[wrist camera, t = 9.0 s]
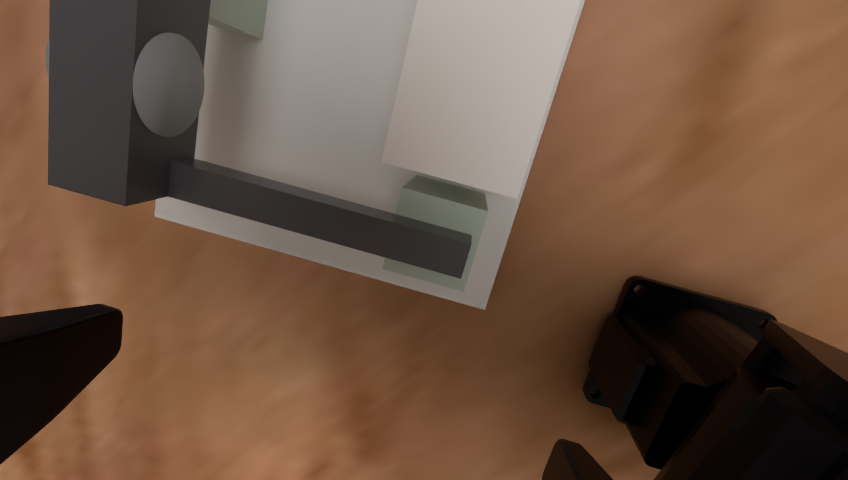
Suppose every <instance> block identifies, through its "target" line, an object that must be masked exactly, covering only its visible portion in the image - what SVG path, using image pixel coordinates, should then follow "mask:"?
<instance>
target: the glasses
mask: <svg viewBox="0 0 848 480" xmlns="http://www.w3.org/2000/svg"><path fill="white" fill-rule="evenodd" d="M210 2H211V0H50V35H49V41H48V44H47V49H46V67H47V73H48V76H49V140H48V184H49V185H52V186H56V187H59V188H63V189H66V190H70V191H73V192H77V193H80V194H84V195H87V196H91V197H95V198H98V199H102V200H105V201H109V202H112V203H116V204H119V205H123V206H128V205H132V204H137V203H141V202H146V201H150V200H155V199H159V198H164V197H171V198H175V199H178V200H182V201H185V202H189V203H192V204H196V205H200V206H203V207H207V208H210V209H214V210H217V211H221V212H225V213H228V214H232V215H235V216H239V217H242V218H246V219H249V220H253V221H257V222H260V223H264V224H267V225H271V226H274V227H278V228H282V229H285V230H289V231H292V232H296V233H299V234H303V235H306V236H310V237H314V238H317V239H321V240H324V241H328V242H331V243H335V244H339V245H342V246H346V247H349V248H353V249H356V250H360V251H363V252H367V253H371V254H374V255H378V256H381V257H385V258H388V259H392V260H396V261H399V262H403V263H406V264H410V265H413V266H417V267H420V268H424V269H428V270H431V271H435V272H438V273H442V274H445V275H449V276H452V277H456V278H460V279H461V278H462V274H463V271H464V268H465V264H466V261H467V258H468V254H469V251H470V248H471V244H472V235H470V234H466V233H463V232H459V231H456V230H452V229H448V228H445V227H441V226H438V225H434V224H430V223H427V222H423V221H419V220H416V219H412V218H409V217H405V216H401V215H398V214H394V213H390V212H387V211H383V210H380V209H376V208H372V207H369V206H365V205H361V204H358V203H354V202H351V201H347V200H343V199H340V198H336V197H333V196H329V195H325V194H322V193H318V192H314V191H311V190H307V189H304V188H300V187H296V186H293V185H289V184H285V183H282V182H278V181H275V180H271V179H267V178H264V177H260V176H256V175H253V174H249V173H246V172H242V171H238V170H235V169H231V168H228V167H224V166H220V165H217V164H213V163H209V162H206V161H202V160H199V159H195V158H194V157H195V147H196V137H197V128H198V118H199V111H200V108H201V105H202V101H203V96H204V86H205V81H204V71H203V70H204V60H205V50H206V41H207V31H208V22H209V12H210Z"/></svg>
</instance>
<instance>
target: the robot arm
mask: <svg viewBox="0 0 848 480" xmlns="http://www.w3.org/2000/svg"><path fill="white" fill-rule="evenodd" d="M637 285H643V288H642V290H641V291H639V292H634V288H635V287H636V286H637ZM763 319H765V322H764V323H763V324H762V325H760V326H758V324H759V322H760V321H761V320H763ZM122 325H123V314H122V312H121V311H120V310H119V309H117V308H114V307H110V306H107V305H103V304H94V305H87V306H79V307H72V308H64V309H57V310H49V311H42V312H35V313H27V314H20V315H12V316H5V317H0V464H1V463H3V462H4V461H5V460H6V459H7V458H9V457H10V456H11V455H12V454H13V453H14V452H16V451H17V450H18V449H19V448H20V447H21V446H23V445H24V444H25V443H26V442H27V441H29V440H30V439H31V438H32V437H33V436H34V435H36V434H37V433H38V432H39V431H40V430H41V429H43V428H44V427H45V426H46V425H47V424H48V423H49V422H51V421H52V420H53V419H54V418H55V417H56V416H57V415H58V414H59V413H60V412H61V411H62V410H63V409H64V408H65V407H66V406H67V405H68V404H69V403H70V402H71V401H72V400H73V399H74V398H75V397H76V396H77V395H78V394H79V393H80V392H81V391H82V390H83V389H84V388H85V387H86V386H87V385H88V384H89V383H90V382H91V381H92V380H93V379H94V378H95V377H96V376H97V375H98V374H99V373H100V372H101V371H102V370H103V369H104V368H105V367H106V366H107V365H108V364H109V363H110V362H111V361H112V360H113V359H114V358H115V357H116V355H117V354H118V352H119V350H120V347H121V341H122ZM589 365H590V367H591V369H590V371H589V374H588V376H587V379H586V381H585V384H584V386H583V392H584V395H585V397H586V399H587V400H588V401H589V402H591V403H594V404H598V405H601V406H605V407H608V408H611V410H612V412H613V414H614V416H615V418H616V420H617V421H618V422H620V423H623V424H626V426H627V428H628V430H629V432H630V434H631V436H632V438H633V440H634V442H635V444H636V446H637V448H638V450H639V451H640V453H641V455H642V457H643V459H644V461H645V463H646V464H647V465H649V466H650V467H654V468H657V469H661V471H660V472H659V473H658V475H657V476H656V477H655V479H654V480H848V353H846V352H844V351H842V350H840V349H837V348H835V347H833V346H831V345H828V344H826V343H824V342H822V341H820V340H817V339H815V338H813V337H811V336H808V335H806V334H804V333H802V332H799V331H797V330H795V329H793V328H790V327H788V326H786V325H784V324H781V323H779V322H777V319H776V318H775V317H774V316H773V315H771V314H770V313H768V312H766V311H764V310H760V309H757V308H753V307H750V306H746V305H742V304H739V303H735V302H731V301H728V300H724V299H721V298H717V297H713V296H710V295H706V294H702V293H699V292H695V291H692V290H688V289H684V288H681V287H677V286H673V285H670V284H666V283H663V282H659V281H655V280H652V279H648V278H644V277H640V276H636V277H632V278H631V279H629V280H628V281H627V283H626V285H625V287H624V290H623V292H622V295H621V297H620V299H619V302H618V304H617V307H616V309H615V311H614V314H613V315H611V316H609V317H608V318H607V319H606V321H605V323H604V326H603V328H602V331H601V333H600V336H599V338H598V340H597V343H596V345H595V348H594V350H593V353H592V355H591V357H590V360H589ZM595 389H596V390H599V391H598V392H597V393H595V394H591V393H590V392H591V391H592V390H595ZM542 480H613V479H612V478H611V477H610V476H609V475H608V474H607V472H606V471H605V470H604V469H603V468H602V467H601V466H600V465H599V464H598V463H597V462H596V461H595V459H594V458H593V457H592V456H591V455H590V454H589V453H588V452H587V451H586V450H585V449H584V448H583V446H581V445H580V444H578V443H575V442H572V441H568V440H565V439H559V440H557V442H556V443H555V445H554V447H553V450H552V452H551V455H550V457H549V459H548V462H547V464H546V467H545V469H544V472H543V476H542Z"/></svg>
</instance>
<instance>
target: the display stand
mask: <svg viewBox="0 0 848 480" xmlns="http://www.w3.org/2000/svg"><path fill="white" fill-rule="evenodd" d="M584 2H585V0H211V2H210V12H209V22H208V31H207V41H206V50H205V60H204V70H203V71H204V81H205V86H204V96H203V101H202V105H201V108H200V111H199V118H198V128H197V137H196V147H195V157H194V158H195V159H199V160H202V161H206V162H209V163H213V164H217V165H220V166H224V167H228V168H231V169H235V170H238V171H242V172H246V173H249V174H253V175H256V176H260V177H264V178H267V179H271V180H275V181H278V182H282V183H285V184H289V185H293V186H296V187H300V188H304V189H307V190H311V191H314V192H318V193H322V194H325V195H329V196H333V197H336V198H340V199H343V200H347V201H351V202H354V203H358V204H361V205H365V206H369V207H372V208H376V209H380V210H383V211H387V212H390V213H394V214H398V215H401V216H405V217H409V218H412V219H416V220H419V221H423V222H427V223H430V224H434V225H438V226H441V227H445V228H448V229H452V230H456V231H459V232H463V233H466V234H470V235H472V244H471V248H470V251H469V254H468V258H467V261H466V264H465V268H464V271H463V274H462V278H461V279H460V278H456V277H452V276H449V275H445V274H442V273H438V272H435V271H431V270H428V269H424V268H420V267H417V266H413V265H410V264H406V263H403V262H399V261H396V260H392V259H388V258H385V257H381V256H378V255H374V254H371V253H367V252H363V251H360V250H356V249H353V248H349V247H346V246H342V245H339V244H335V243H331V242H328V241H324V240H321V239H317V238H314V237H310V236H306V235H303V234H299V233H296V232H292V231H289V230H285V229H282V228H278V227H274V226H271V225H267V224H264V223H260V222H257V221H253V220H249V219H246V218H242V217H239V216H235V215H232V214H228V213H225V212H221V211H217V210H214V209H210V208H207V207H203V206H200V205H196V204H192V203H189V202H185V201H182V200H178V199H175V198H171V197H164V198H159V199H156V204H155V217H158V218H161V219H165V220H168V221H172V222H175V223H179V224H183V225H186V226H190V227H193V228H197V229H200V230H204V231H207V232H211V233H214V234H218V235H221V236H225V237H228V238H232V239H235V240H239V241H243V242H246V243H250V244H253V245H257V246H260V247H264V248H267V249H271V250H274V251H278V252H281V253H285V254H288V255H292V256H296V257H299V258H303V259H306V260H310V261H313V262H317V263H320V264H324V265H327V266H331V267H334V268H338V269H341V270H345V271H349V272H352V273H356V274H359V275H363V276H366V277H370V278H373V279H377V280H380V281H384V282H387V283H391V284H394V285H398V286H401V287H405V288H409V289H412V290H416V291H419V292H423V293H426V294H430V295H433V296H437V297H440V298H444V299H447V300H451V301H454V302H458V303H462V304H465V305H469V306H472V307H476V308H479V309H483V310H485V308H486V305H487V302H488V299H489V296H490V293H491V290H492V287H493V284H494V281H495V277H496V274H497V271H498V268H499V265H500V262H501V259H502V256H503V253H504V250H505V246H506V243H507V240H508V237H509V234H510V231H511V228H512V225H513V222H514V219H515V215H516V212H517V209H518V206H519V203H520V200H521V197H522V194H523V191H524V188H525V184H526V181H527V178H528V175H529V172H530V169H531V166H532V163H533V160H534V157H535V154H536V150H537V147H538V144H539V141H540V138H541V135H542V132H543V129H544V126H545V123H546V119H547V116H548V113H549V110H550V107H551V104H552V101H553V98H554V95H555V92H556V88H557V85H558V82H559V79H560V76H561V73H562V70H563V67H564V64H565V61H566V57H567V54H568V51H569V48H570V45H571V42H572V39H573V36H574V33H575V30H576V26H577V23H578V20H579V17H580V14H581V11H582V8H583V5H584Z"/></svg>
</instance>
